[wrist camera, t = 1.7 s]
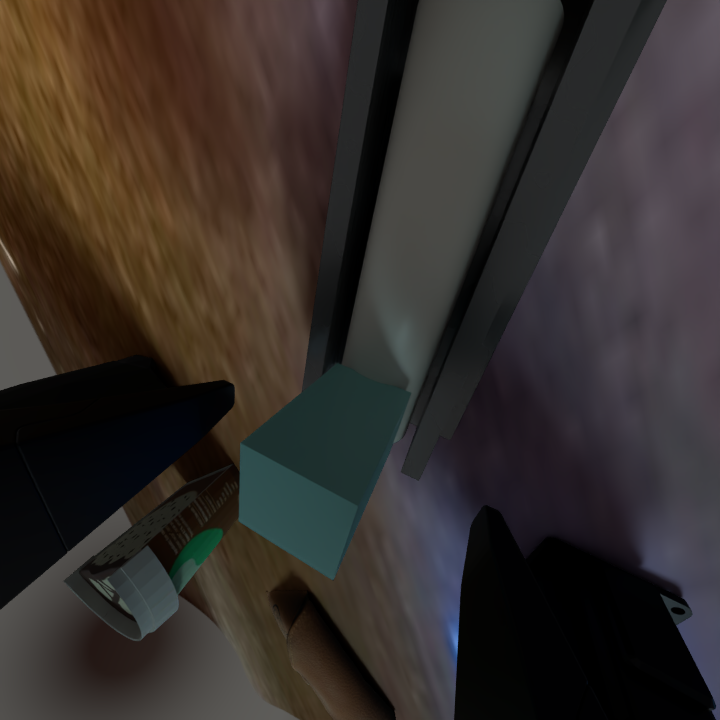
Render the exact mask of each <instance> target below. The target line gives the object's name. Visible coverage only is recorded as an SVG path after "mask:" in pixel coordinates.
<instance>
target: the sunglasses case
mask: <svg viewBox="0 0 720 720" xmlns="http://www.w3.org/2000/svg"><path fill="white" fill-rule="evenodd" d="M266 593H267V595H268V600H269V604H270V607H271V610H272V613H273V615H274V617H275V619H276V621H277V623H278V626H279V627H280V629H281V631H282V633H283V635H284V637H285V638H286V640H287V647H288V652H289V657H290V662H291V665H292V667H293V669H294V670H296V671H297V672H298V673H300V674H301V675H302V678H303V680H304V681H305V682H306V683H307V684H308V685H309V684H310V686H311V687H312V689H313V690H314V692H315V693H316V694H317V696H318V698H319V699H320V701H321V702H322V704H323V705H324V707H325V708H326V710H327V712H328V713H329V714H330V716H331V717H332V718H333V719H334V720H396V717H395V712H394V711H393V710H392V709H391V708H389V707H388V705H387V704H386V703H385V702H384V701H383V700H382V699H381V697H380V696H379V694H377V693H375V692H374V690H373V688H372V687H371V686H370V685H369V684H368V683H367V682H365V681H364V679H363V677H362V675H361V673H360V672H359V671H358V669H357V668H356V666H355V664H354V663H353V662H352V660H351V659H350V658H349V656H348V655H347V654H346V653H345V652H344V651H343V649H342V647H341V645H340V643H339V642H338V640H337V639H336V637H335V636H334V635H333V633H332V632H331V631H330V629H329V628H328V627H327V625H326V624H325V622H324V621H323V619H322V618H321V616H320V615H319V614H318V612H317V611H316V609H315V607H314V605H313V603H312V602H311V601H310V600H309V599H308V598H309V597H308V592H306V591H271V592H268V591H266Z"/></svg>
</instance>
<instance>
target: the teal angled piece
mask: <svg viewBox="0 0 720 720" xmlns="http://www.w3.org/2000/svg"><path fill="white" fill-rule="evenodd" d="M563 23H564V10H563V6H562V3H561V0H419V2H418V6H417V10H416V15H415V20H414V25H413V29H412V34H411V39H410V43H409V48H408V53H407V58H406V62H405V67H404V72H403V77H402V81H401V86H400V91H399V95H398V100H397V105H396V110H395V114H394V119H393V124H392V128H391V133H390V138H389V143H388V147H387V152H386V157H385V161H384V166H383V171H382V176H381V180H380V185H379V190H378V194H377V199H376V204H375V209H374V213H373V218H372V223H371V228H370V232H369V237H368V242H367V246H366V251H365V256H364V261H363V265H362V270H361V275H360V279H359V284H358V289H357V294H356V298H355V303H354V308H353V312H352V317H351V322H350V327H349V331H348V336H347V341H346V346H345V350H344V355H343V360H342V364H339V363H337V364H336V365H335V366H333V367H332V368H331V369H330V370H328V371H327V372H326V373H325V374H324V375H322V376H321V377H320V378H319V379H318V380H316V381H315V382H314V383H313V384H311V385H310V386H309V387H308V388H307V389H305V390H304V391H303V392H302V393H301V394H299V395H298V396H297V397H296V398H295V399H293V400H292V401H291V402H290V403H288V404H287V405H286V406H285V407H284V408H282V409H281V410H280V411H279V412H278V413H276V414H275V415H274V416H273V417H271V418H270V419H269V420H268V421H267V422H265V423H264V424H263V425H262V426H261V427H259V428H258V429H257V430H256V431H255V432H253V433H252V434H251V435H250V436H248V437H247V438H246V439H245V440H244V441H242V442H241V443H240V489H239V522H241V523H242V524H244V525H245V526H247V527H249V528H250V529H252V530H253V531H255V532H257V533H258V534H260V535H261V536H263V537H264V538H266V539H268V540H269V541H271V542H272V543H274V544H276V545H277V546H279V547H280V548H282V549H284V550H285V551H287V552H288V553H290V554H292V555H293V556H295V557H296V558H298V559H300V560H301V561H303V562H304V563H306V564H308V565H309V566H311V567H312V568H314V569H316V570H317V571H319V572H320V573H322V574H323V575H325V576H327V577H328V578H330V579H331V580H334V578H335V576H336V573H337V571H338V569H339V567H340V564H341V562H342V560H343V557H344V555H345V553H346V551H347V548H348V546H349V544H350V542H351V539H352V537H353V535H354V532H355V530H356V528H357V526H358V523H359V521H360V519H361V517H362V514H363V512H364V510H365V508H366V505H367V503H368V501H369V498H370V496H371V494H372V492H373V489H374V487H375V485H376V483H377V480H378V478H379V476H380V474H381V471H382V469H383V467H384V464H385V462H386V460H387V458H388V455H389V453H390V450H391V448H392V445H393V444H394V443H396V442H398V441H400V440H401V439H402V438H403V437H404V435H405V434H406V431H407V429H408V426H409V423H410V421H411V418H412V416H413V413H414V410H415V408H416V405H417V403H418V400H419V397H420V395H421V392H422V390H423V387H424V385H425V382H426V379H427V377H428V374H429V372H430V369H431V366H432V364H433V361H434V359H435V356H436V353H437V351H438V348H439V346H440V343H441V340H442V338H443V335H444V333H445V330H446V327H447V325H448V322H449V320H450V317H451V315H452V312H453V309H454V307H455V304H456V302H457V299H458V296H459V294H460V291H461V289H462V286H463V283H464V281H465V278H466V276H467V273H468V270H469V268H470V265H471V263H472V260H473V258H474V255H475V252H476V250H477V247H478V245H479V242H480V239H481V237H482V234H483V232H484V229H485V226H486V224H487V221H488V219H489V216H490V213H491V211H492V208H493V206H494V203H495V201H496V198H497V195H498V193H499V190H500V188H501V185H502V182H503V180H504V177H505V175H506V172H507V169H508V167H509V164H510V162H511V159H512V156H513V154H514V151H515V149H516V146H517V144H518V141H519V138H520V136H521V133H522V131H523V128H524V125H525V123H526V120H527V118H528V115H529V112H530V110H531V107H532V105H533V102H534V99H535V97H536V94H537V92H538V89H539V86H540V84H541V81H542V79H543V76H544V74H545V71H546V68H547V66H548V63H549V61H550V58H551V55H552V53H553V50H554V48H555V45H556V42H557V40H558V37H559V35H560V32H561V29H562V26H563Z"/></svg>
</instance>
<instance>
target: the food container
mask: <svg viewBox="0 0 720 720" xmlns="http://www.w3.org/2000/svg"><path fill="white" fill-rule="evenodd" d="M239 489H240V473H239V471H238V469H237V468H236V466H235V465H234V464H231V465H229V466H226V467H224V468H222V469H219V470H217V471H214V472H212V473H210V474H207V475H205V476H202V477H200V478H198V479H195V480H193V481H190V482H188V483H186V484H185V485H184V486H182V487H181V488H180V489H179V490H177V491H176V492H175V493H174V494H172V495H171V496H170V497H169V498H167V499H166V500H165V501H164V502H162V503H161V504H160V505H158V506H157V507H156V508H155V509H153V510H152V511H151V512H150V513H148V514H147V515H146V516H145V517H143V518H142V519H141V520H140V521H138V522H137V523H136V524H134V525H133V526H132V527H131V528H129V529H128V530H127V531H126V532H124V533H123V534H122V535H121V536H119V537H118V538H117V539H116V540H114V541H113V542H112V543H110V544H109V545H108V546H107V547H105V548H104V549H103V550H102V551H100V552H99V553H98V554H97V555H95V556H92V557H91V558H90V559H89V560H88V561H86V562H85V563H84V564H83V565H82V566H80V567H79V568H78V569H77V570H76V571H75V572H73V574H71V575H70V576H69V577H68V578H66V579H65V580H64V582H65V583H66V584H67V586H68V587H69V588H70V589H71V590H72V591H73V592H74V593H75V594H76V595H77V596H78V597H79V598H80V599H81V600H82V601H83V602H84V603H85V604H86V605H87V606H88V607H89V608H90V609H91V610H92V611H93V612H94V613H95V614H96V615H97V616H99V617H100V618H101V619H102V620H103V621H104V622H106V623H107V624H108V625H110V626H111V627H112V628H113V629H115V630H116V631H117V632H119V633H120V634H122V635H124V636H125V637H127V638H129V639H131V640H134V641H140V640H141V639H142V638H143V637H144V636H145V635H146V634H147V633H148V632H149V633H151V632H154V631H155V630H156V629H157V628H158V627H159V626H160V625H161V624H162V623H164V622H165V621H166V620H167V619H168V618H169V617H170V616H171V615H173V614H174V613H175V612H176V611H177V609H178V606H179V601H178V596H177V595H178V594H179V593H180V591H181V590H182V589H183V587H184V586H185V585H186V584H187V582H188V581H189V580H190V579H191V577H192V576H193V575H194V573H195V572H196V571H197V570H198V568H199V567H200V566H201V564H202V563H203V562H204V561H205V559H206V558H207V557H208V556H209V554H210V553H211V552H212V550H213V549H214V548H215V547H216V545H217V544H218V543H219V541H220V540H221V539H222V538H223V536H224V535H225V534H226V532H227V531H228V530H229V529H230V527H231V526H232V525H233V524H234V522H235V521H236V520H237V518H238V517H239Z"/></svg>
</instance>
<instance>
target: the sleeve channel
mask: <svg viewBox="0 0 720 720" xmlns="http://www.w3.org/2000/svg"><path fill="white" fill-rule="evenodd" d="M666 1H667V0H561V3H562V6H563V10H564V23H563V26H562V29H561V32H560V35H559V37H558V40H557V42H556V45H555V48H554V50H553V53H552V55H551V58H550V61H549V63H548V66H547V68H546V71H545V74H544V76H543V79H542V81H541V84H540V86H539V89H538V92H537V94H536V97H535V99H534V102H533V105H532V107H531V110H530V112H529V115H528V118H527V120H526V123H525V125H524V128H523V131H522V133H521V136H520V138H519V141H518V144H517V146H516V149H515V151H514V154H513V156H512V159H511V162H510V164H509V167H508V169H507V172H506V175H505V177H504V180H503V182H502V185H501V188H500V190H499V193H498V195H497V198H496V201H495V203H494V206H493V208H492V211H491V213H490V216H489V219H488V221H487V224H486V226H485V229H484V232H483V234H482V237H481V239H480V242H479V245H478V247H477V250H476V252H475V255H474V258H473V260H472V263H471V265H470V268H469V270H468V273H467V276H466V278H465V281H464V283H463V286H462V289H461V291H460V294H459V296H458V299H457V302H456V304H455V307H454V309H453V312H452V315H451V317H450V320H449V322H448V325H447V327H446V330H445V333H444V335H443V338H442V340H441V343H440V346H439V348H438V351H437V353H436V356H435V359H434V361H433V364H432V366H431V369H430V372H429V374H428V377H427V379H426V382H425V385H424V387H423V390H422V392H421V395H420V397H419V400H418V403H417V405H416V408H415V410H414V413H413V416H412V418H411V421H410V423H411V424H414V425H416V426H417V428H416V431H415V433H414V436H413V439H412V442H411V445H410V448H409V450H408V453H407V456H406V459H405V462H404V464H403V467H402V470H401V472H402V473H404V474H406V475H408V476H410V477H412V478H414V479H416V480H418V481H419V479H420V477H421V475H422V473H423V471H424V468H425V466H426V464H427V462H428V460H429V458H430V455H431V453H432V451H433V449H434V447H435V445H436V442H437V440H438V438H439V436H442V437H444V438H446V439H449V440H451V438H452V436H453V434H454V432H455V430H456V428H457V426H458V424H459V422H460V420H461V418H462V416H463V413H464V411H465V409H466V407H467V405H468V403H469V401H470V399H471V397H472V395H473V393H474V391H475V389H476V387H477V385H478V383H479V381H480V379H481V377H482V375H483V373H484V371H485V369H486V367H487V365H488V363H489V361H490V359H491V357H492V355H493V353H494V350H495V348H496V346H497V344H498V342H499V340H500V338H501V336H502V334H503V332H504V330H505V328H506V326H507V324H508V322H509V320H510V318H511V316H512V314H513V312H514V310H515V308H516V306H517V304H518V302H519V300H520V298H521V296H522V294H523V292H524V290H525V287H526V285H527V283H528V281H529V279H530V277H531V275H532V273H533V271H534V269H535V267H536V265H537V263H538V261H539V259H540V257H541V255H542V253H543V251H544V249H545V247H546V245H547V243H548V241H549V239H550V237H551V235H552V233H553V231H554V229H555V227H556V224H557V222H558V220H559V218H560V216H561V214H562V212H563V210H564V208H565V206H566V204H567V202H568V200H569V198H570V196H571V194H572V192H573V190H574V188H575V186H576V184H577V182H578V180H579V178H580V176H581V174H582V172H583V170H584V168H585V166H586V164H587V161H588V159H589V157H590V155H591V153H592V151H593V149H594V147H595V145H596V143H597V141H598V139H599V137H600V135H601V133H602V131H603V129H604V127H605V125H606V123H607V121H608V119H609V117H610V115H611V113H612V111H613V109H614V107H615V105H616V103H617V101H618V98H619V96H620V94H621V92H622V90H623V88H624V86H625V84H626V82H627V80H628V78H629V76H630V74H631V72H632V70H633V68H634V66H635V64H636V62H637V60H638V58H639V56H640V54H641V52H642V50H643V48H644V46H645V44H646V42H647V40H648V38H649V35H650V33H651V31H652V29H653V27H654V25H655V23H656V21H657V19H658V17H659V15H660V13H661V11H662V9H663V7H664V5H665V3H666ZM418 2H419V0H358V4H357V11H356V18H355V25H354V31H353V38H352V45H351V52H350V59H349V66H348V73H347V80H346V87H345V94H344V101H343V108H342V115H341V122H340V129H339V136H338V143H337V150H336V157H335V164H334V171H333V178H332V185H331V192H330V199H329V206H328V213H327V220H326V227H325V234H324V241H323V248H322V255H321V262H320V269H319V276H318V283H317V289H316V296H315V303H314V310H313V317H312V324H311V331H310V338H309V345H308V352H307V359H306V366H305V373H304V380H303V387H302V392H303V391H304V390H305V389H307V388H308V387H309V386H310V385H311V384H313V383H314V382H315V381H316V380H318V379H319V378H320V377H321V376H322V375H324V374H325V373H326V372H327V371H328V370H330V369H331V368H332V367H333V366H335V365H336V364H337V363H339V364H342V360H343V355H344V350H345V346H346V341H347V336H348V331H349V327H350V322H351V317H352V312H353V308H354V303H355V298H356V294H357V289H358V284H359V279H360V275H361V270H362V265H363V261H364V256H365V251H366V246H367V242H368V237H369V232H370V228H371V223H372V218H373V213H374V209H375V204H376V199H377V194H378V190H379V185H380V180H381V176H382V171H383V166H384V161H385V157H386V152H387V147H388V143H389V138H390V133H391V128H392V124H393V119H394V114H395V110H396V105H397V100H398V95H399V91H400V86H401V81H402V77H403V72H404V67H405V62H406V58H407V53H408V48H409V43H410V39H411V34H412V29H413V25H414V20H415V15H416V10H417V6H418Z"/></svg>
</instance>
